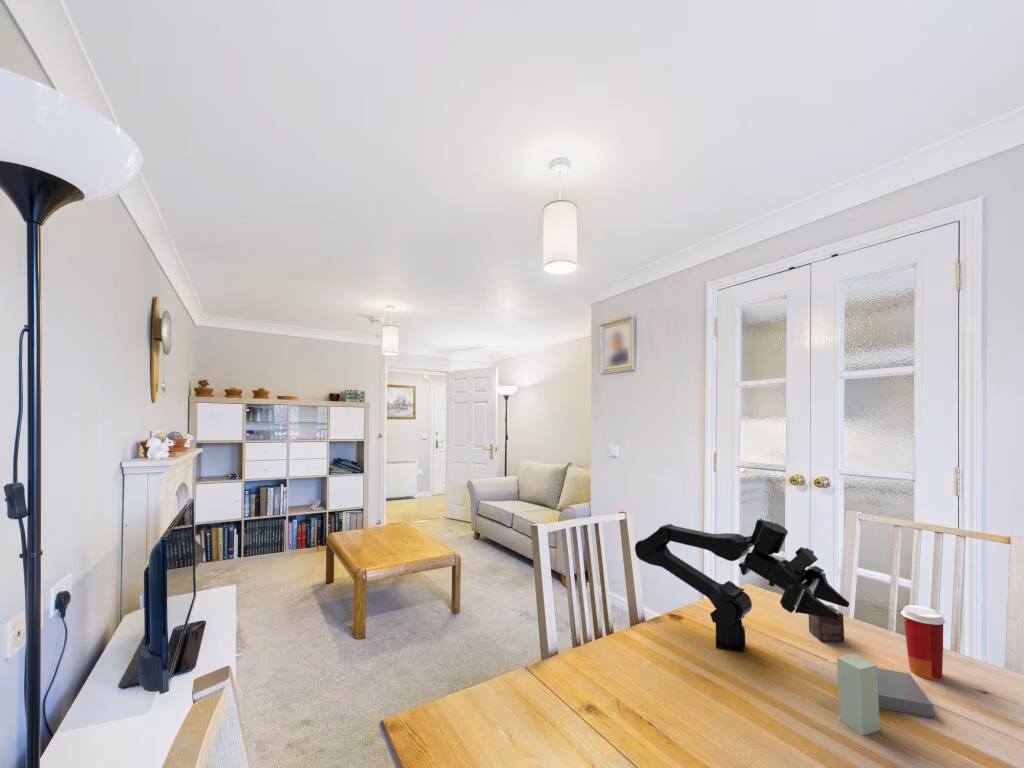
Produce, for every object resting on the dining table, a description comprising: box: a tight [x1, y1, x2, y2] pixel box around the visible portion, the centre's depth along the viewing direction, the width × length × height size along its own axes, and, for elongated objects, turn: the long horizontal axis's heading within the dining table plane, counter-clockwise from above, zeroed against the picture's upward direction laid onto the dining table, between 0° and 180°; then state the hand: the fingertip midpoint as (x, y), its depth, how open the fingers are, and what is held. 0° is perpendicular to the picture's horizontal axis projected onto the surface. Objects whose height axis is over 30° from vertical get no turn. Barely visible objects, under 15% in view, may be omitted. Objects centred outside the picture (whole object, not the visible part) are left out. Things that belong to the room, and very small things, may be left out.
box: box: [808, 604, 845, 643], centre depth 127 cm, size 6×6×7 cm
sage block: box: [836, 653, 881, 736], centre depth 92 cm, size 4×4×12 cm
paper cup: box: [900, 604, 946, 681], centre depth 110 cm, size 8×8×14 cm
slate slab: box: [877, 667, 934, 718], centre depth 102 cm, size 12×12×2 cm
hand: (843, 611), depth 106 cm, fingers open, 9 cm apart
